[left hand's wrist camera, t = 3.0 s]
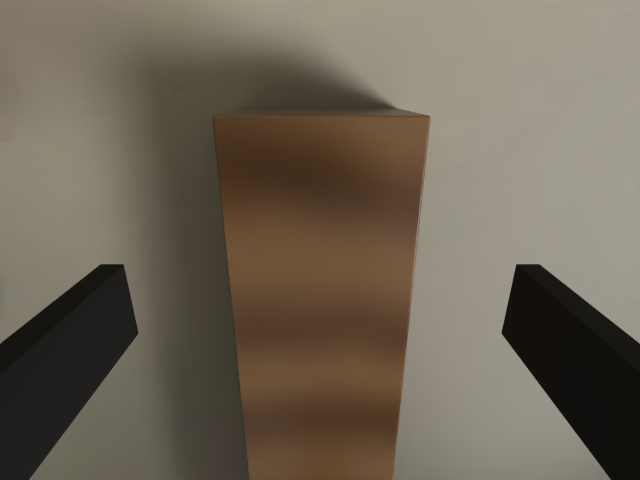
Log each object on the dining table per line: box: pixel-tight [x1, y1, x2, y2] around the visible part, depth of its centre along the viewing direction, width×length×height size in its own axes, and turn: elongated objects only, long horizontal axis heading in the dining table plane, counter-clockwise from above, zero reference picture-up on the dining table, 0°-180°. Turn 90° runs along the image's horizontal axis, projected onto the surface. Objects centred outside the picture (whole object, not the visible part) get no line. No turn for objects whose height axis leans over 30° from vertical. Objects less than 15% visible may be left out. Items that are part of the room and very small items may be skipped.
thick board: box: [213, 109, 430, 480], centre depth 28 cm, size 50×9×7 cm, turn 0°
